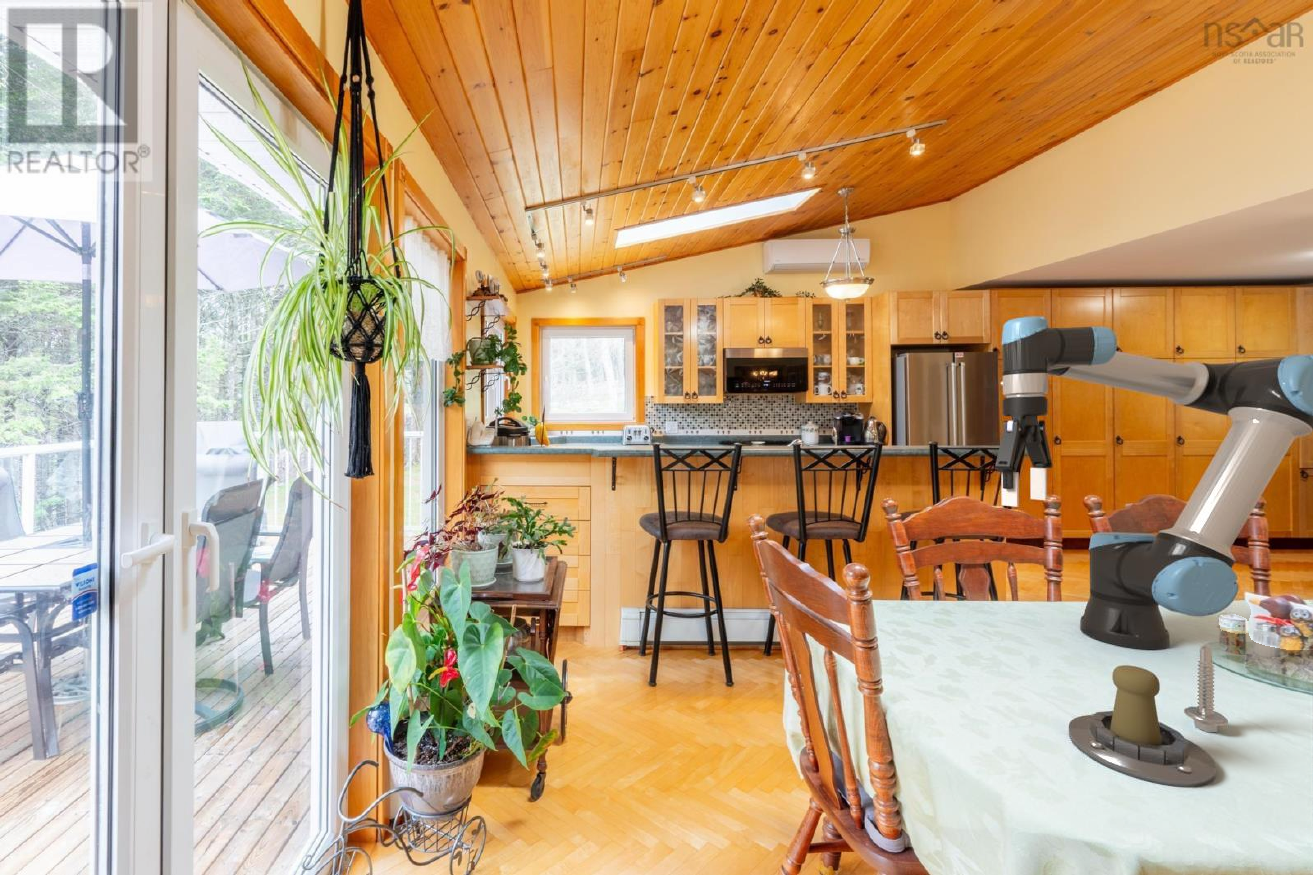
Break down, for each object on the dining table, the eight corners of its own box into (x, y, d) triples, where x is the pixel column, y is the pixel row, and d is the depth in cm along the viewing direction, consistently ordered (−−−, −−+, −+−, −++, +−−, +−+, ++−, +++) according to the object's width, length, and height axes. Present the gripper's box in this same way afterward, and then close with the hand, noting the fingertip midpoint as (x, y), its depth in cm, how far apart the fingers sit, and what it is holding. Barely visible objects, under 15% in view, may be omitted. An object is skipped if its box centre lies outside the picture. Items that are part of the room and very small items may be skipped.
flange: (1134, 718, 90) (1134, 699, 90) (1250, 781, 74) (1250, 757, 74) (1042, 726, 88) (1042, 706, 88) (1140, 792, 72) (1141, 767, 72)
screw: (1185, 730, 86) (1182, 717, 90) (1230, 741, 83) (1225, 727, 87) (1186, 646, 86) (1183, 637, 90) (1230, 654, 83) (1225, 644, 87)
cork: (1168, 761, 76) (1168, 682, 76) (1112, 749, 80) (1112, 672, 79) (1157, 740, 82) (1158, 665, 81) (1105, 729, 85) (1105, 657, 85)
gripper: (1029, 398, 122) (1029, 495, 122) (975, 396, 107) (975, 506, 108) (1070, 396, 116) (1070, 498, 116) (1018, 394, 101) (1019, 511, 102)
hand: (1024, 502), depth 112 cm, fingers open, 13 cm apart
